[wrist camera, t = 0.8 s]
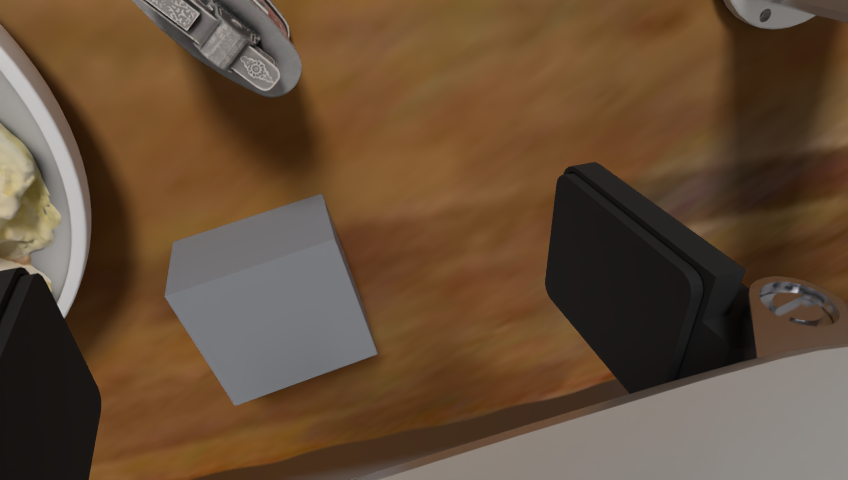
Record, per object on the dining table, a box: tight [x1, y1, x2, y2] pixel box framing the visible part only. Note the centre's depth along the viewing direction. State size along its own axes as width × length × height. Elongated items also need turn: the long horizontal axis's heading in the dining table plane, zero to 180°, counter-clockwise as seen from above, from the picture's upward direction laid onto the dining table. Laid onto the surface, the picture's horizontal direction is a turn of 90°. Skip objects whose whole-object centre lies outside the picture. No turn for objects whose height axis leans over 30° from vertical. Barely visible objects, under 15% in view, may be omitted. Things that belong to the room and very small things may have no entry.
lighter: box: [132, 0, 302, 97], centre depth 26 cm, size 8×3×10 cm, turn 46°
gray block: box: [165, 194, 378, 406], centre depth 38 cm, size 10×10×6 cm
